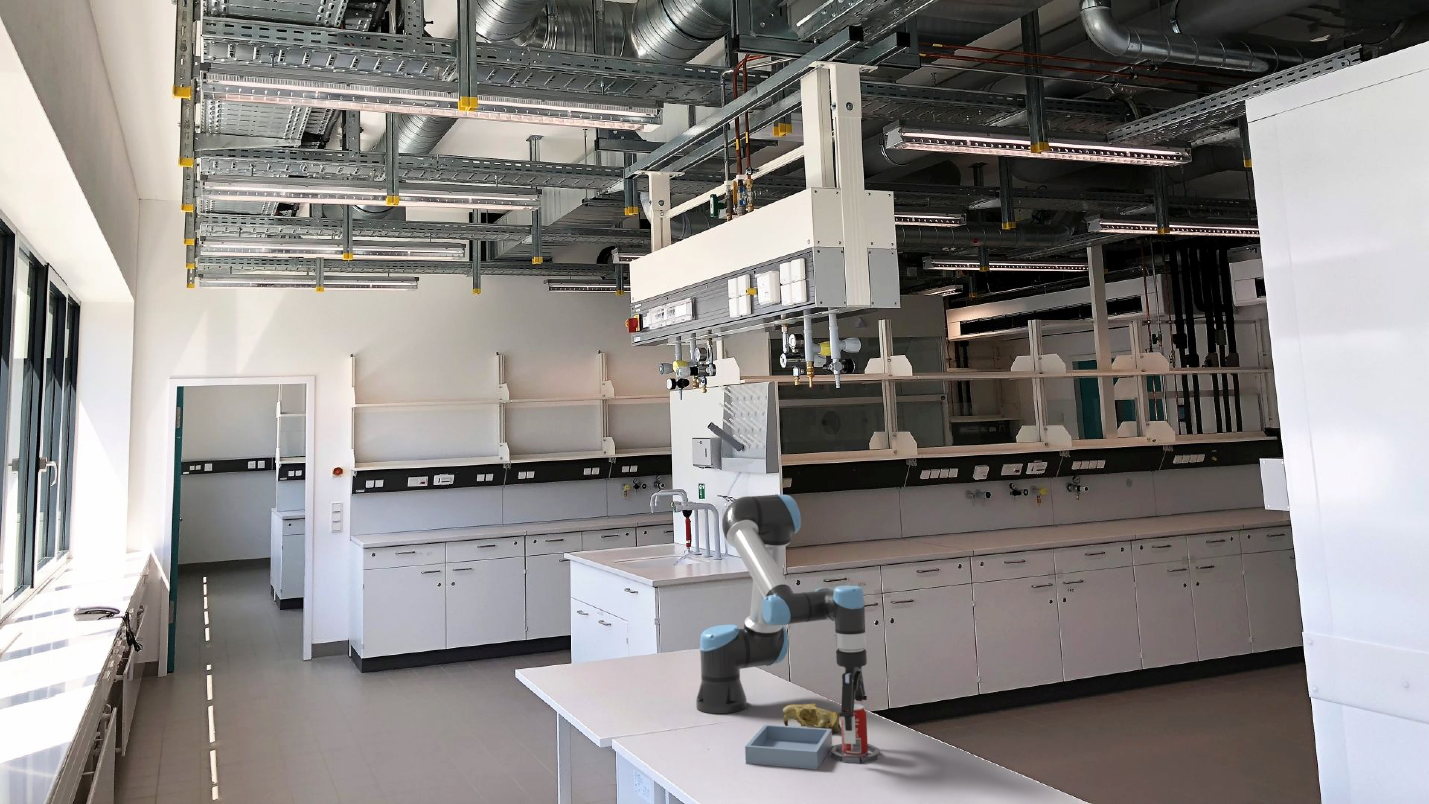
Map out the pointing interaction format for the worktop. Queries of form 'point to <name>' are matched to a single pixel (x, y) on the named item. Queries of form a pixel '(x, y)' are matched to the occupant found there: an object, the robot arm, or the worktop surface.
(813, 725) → the animal skull
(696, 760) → the worktop surface
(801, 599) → the robot arm
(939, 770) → the worktop surface
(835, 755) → the ring
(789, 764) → the bin
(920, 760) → the worktop surface
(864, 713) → the beverage can
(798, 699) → the worktop surface
